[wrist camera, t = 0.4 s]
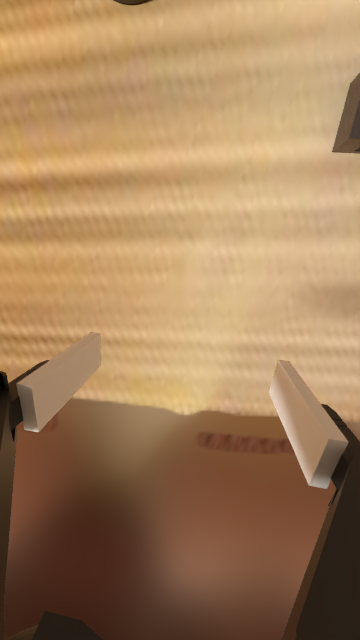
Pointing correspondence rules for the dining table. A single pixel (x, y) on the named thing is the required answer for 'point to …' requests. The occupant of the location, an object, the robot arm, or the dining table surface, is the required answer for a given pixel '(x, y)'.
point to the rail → (350, 122)
